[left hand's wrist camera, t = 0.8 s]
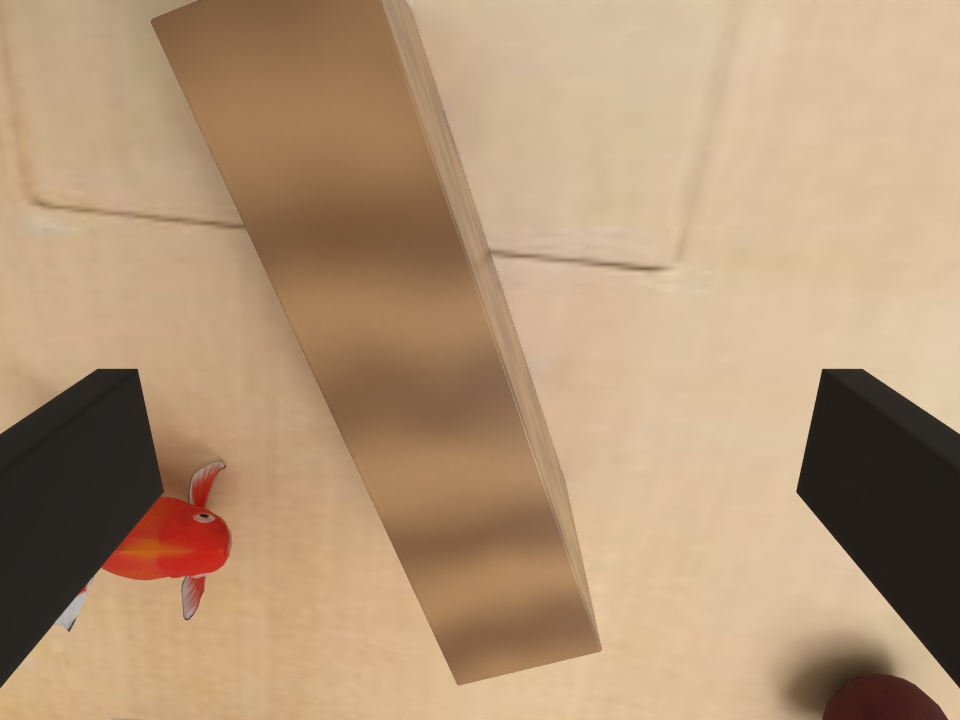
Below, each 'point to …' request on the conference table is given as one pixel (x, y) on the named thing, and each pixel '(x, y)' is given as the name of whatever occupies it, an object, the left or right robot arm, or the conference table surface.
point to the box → (395, 309)
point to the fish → (171, 545)
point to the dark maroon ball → (882, 701)
